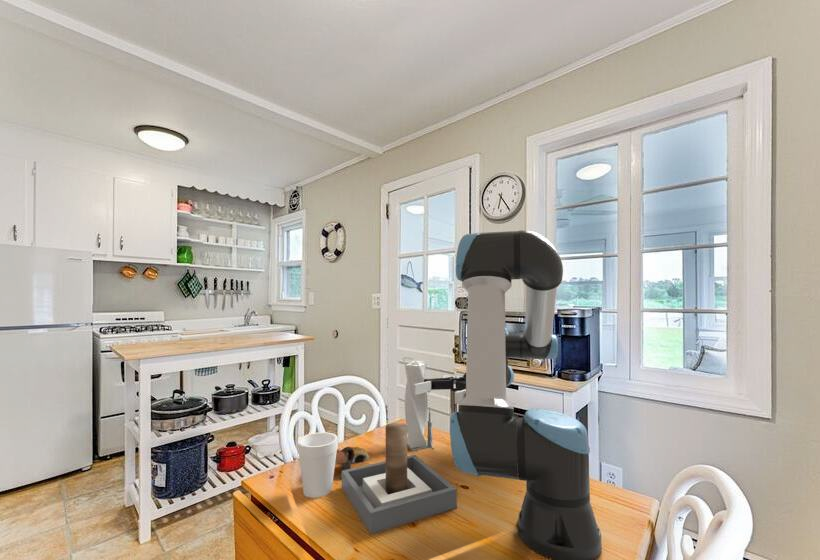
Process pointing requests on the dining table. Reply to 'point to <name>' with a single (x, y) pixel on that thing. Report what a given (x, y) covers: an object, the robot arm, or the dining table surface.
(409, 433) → the skyscraper
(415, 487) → the bore plate
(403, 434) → the walnut peg
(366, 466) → the open box
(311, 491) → the foam cup
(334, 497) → the dining table surface
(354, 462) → the pastry
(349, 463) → the pottery mug
